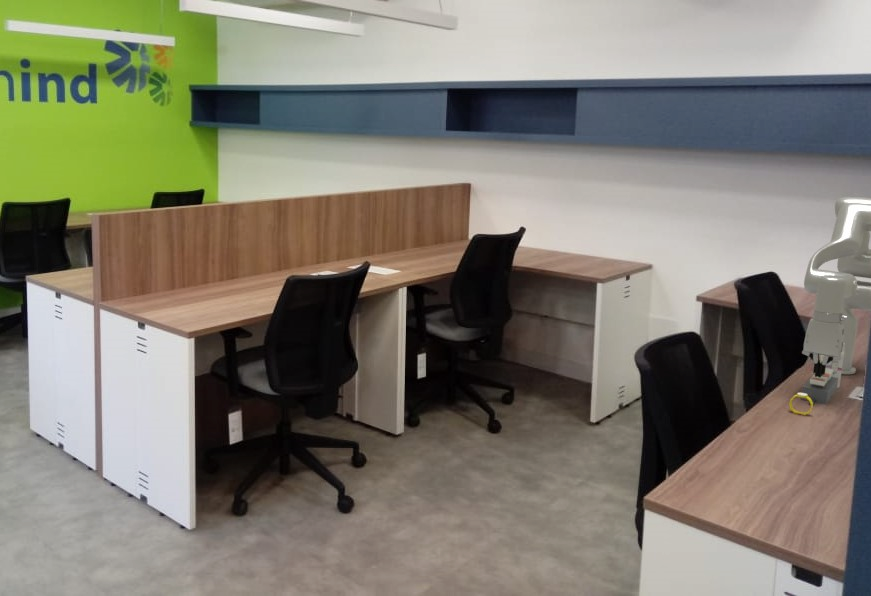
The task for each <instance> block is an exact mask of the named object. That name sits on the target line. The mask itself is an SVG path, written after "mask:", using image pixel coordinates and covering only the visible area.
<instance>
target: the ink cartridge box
mask: <svg viewBox="0 0 871 596" xmlns="http://www.w3.org/2000/svg"><path fill="white" fill-rule="evenodd" d="M844 348H845V344H844V343H843V349H842V352H841V357H842V359H841V360H839V361H831V362H829V363H827V364H826V368H827V369H833V374H832V376H831V377H835V378H838V383H837V389H840V384H841V378H842V374H841V373H842V366H843V359H844ZM823 358H824V355H821V354H820V356H819V360H820V363H821V362H822V361H823Z"/></svg>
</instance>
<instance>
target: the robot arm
mask: <svg viewBox="0 0 871 596" xmlns="http://www.w3.org/2000/svg"><path fill="white" fill-rule="evenodd" d="M834 204H835V205H834V213H835V217H836V220H835V223H834V227H833V231H832V235H831V239H830V242H828V243H827V244H824V245H823V246H822V247H820V248H819V249H818V250H817V251H815V252H814V254H812V256H811V258H810V260H809V262H808V265H807V268H806V272H805V275H804V280H803V286H804V290H806V292H808V293H809V294H815V300H814V308H813V315H812V318H810V320H809V322H808V324H807V329H806V332H805V337H804V341H803V350H802V351H801V354H802V355H805V356H807V357H809V358H810V359H811V360H812V362H813V364H814V365H813V372H812V373H813V374H815V377H820V378H821V376H822V375H824V374H825V369H826V364H827V363H829V362H831V361H839V360H841V359H842V357H841V352H842V349H843V343H844V344H845V348H844V359H843V366H842V373H841V375H855V373H856V372H857V368H855V367H854V366H852V365H853V359H854V358H853V357H854V352H855V344H856V338H857V332H858V328H859V327H858V326H859V321H858V320H859V319H858V317H857V315H856V314H855V312H854V311H853V310H860V311H861V310H862V311H868V312H871V282H870V281H863V280H862V281H861V280H857V278H856V277H858V278H866V279H871V249H870V248H869V245H870V238H871V233H870V232H871V197H870V198H869V197H861V196H860V197H859V196H856V197H855V196H844V197H839V198H838V199H836V201H835V203H834ZM834 260H837V263H836V264H837V266H836V269H837V271H834V270H828V269H819V268H820V267H821V266H822V265H823V264H825V263H828V262H830V261H834ZM821 355H824V358H823V361H822V362H821V363H820V356H821Z"/></svg>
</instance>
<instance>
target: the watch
mask: <svg viewBox="0 0 871 596" xmlns="http://www.w3.org/2000/svg"><path fill="white" fill-rule="evenodd" d="M797 397H798V398H801V397H802V398H806V399H808V400H809V401H808V403H809V402H810V404H811V405H810V408H809V410H808V411H806V412H802V411H798V410H796V409H794V406H793V400H794V399H795V398H797ZM788 405H789V408H790V410H791V412H792V413H794V414H798V415H804V416H806V415H808V414H809V413H811V411H812V410H813V408H814V404H813V402H812V400H811V399H810V398H809V397H808V395H807V394H806V393H802V392H797V393H796V394H795V395H793V396H792V397H791V398H790V400H789V404H788Z"/></svg>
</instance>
